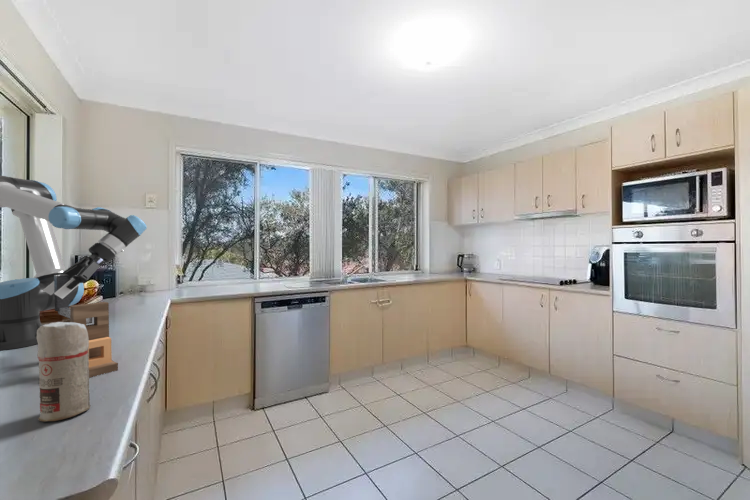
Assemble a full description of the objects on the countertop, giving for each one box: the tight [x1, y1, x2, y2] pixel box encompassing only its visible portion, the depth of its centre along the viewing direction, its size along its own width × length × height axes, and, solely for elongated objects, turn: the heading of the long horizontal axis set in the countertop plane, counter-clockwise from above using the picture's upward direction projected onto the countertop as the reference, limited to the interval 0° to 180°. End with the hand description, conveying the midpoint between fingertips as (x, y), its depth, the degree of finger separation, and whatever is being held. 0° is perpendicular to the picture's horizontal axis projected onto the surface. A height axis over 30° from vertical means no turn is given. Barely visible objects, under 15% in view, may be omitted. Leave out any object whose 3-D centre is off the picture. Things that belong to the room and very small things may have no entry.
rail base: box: [61, 301, 119, 379], centre depth 101 cm, size 30×8×19 cm, turn 56°
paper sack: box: [37, 321, 91, 422], centre depth 72 cm, size 8×8×20 cm
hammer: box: [54, 274, 93, 325], centre depth 106 cm, size 28×3×13 cm, turn 56°
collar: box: [88, 336, 113, 367], centre depth 96 cm, size 2×7×7 cm, turn 146°
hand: (52, 294), depth 111 cm, fingers open, 13 cm apart
